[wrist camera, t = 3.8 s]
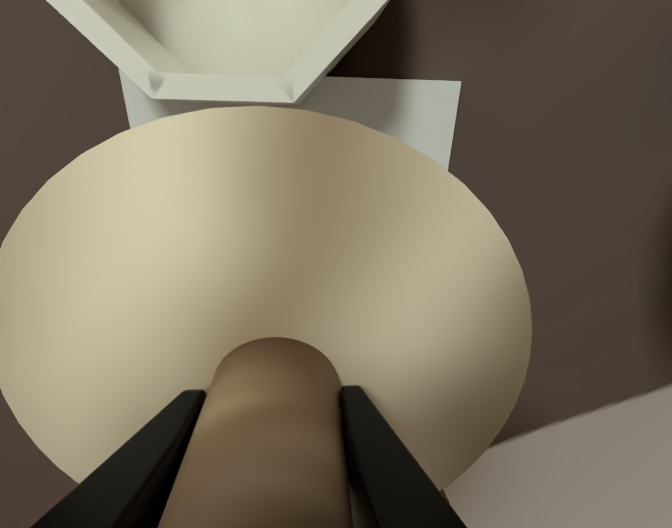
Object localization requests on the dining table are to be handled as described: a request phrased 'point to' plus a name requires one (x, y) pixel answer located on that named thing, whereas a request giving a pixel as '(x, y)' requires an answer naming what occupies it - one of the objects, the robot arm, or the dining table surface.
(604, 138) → the dining table surface
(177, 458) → the robot arm
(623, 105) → the dining table surface
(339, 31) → the bowl
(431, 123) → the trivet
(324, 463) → the lid
